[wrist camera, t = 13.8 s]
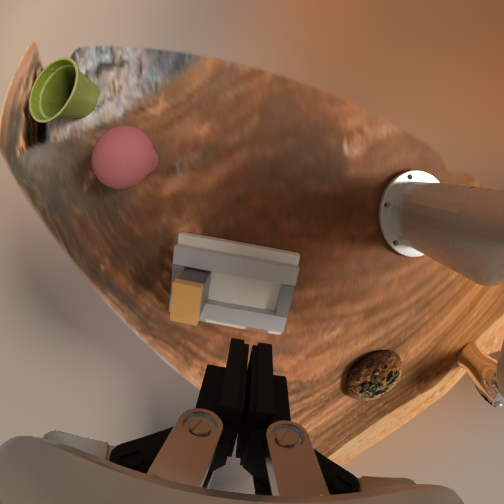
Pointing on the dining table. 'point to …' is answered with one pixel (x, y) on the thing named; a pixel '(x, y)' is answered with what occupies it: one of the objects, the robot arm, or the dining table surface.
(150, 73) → the dining table surface
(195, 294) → the breaker handle
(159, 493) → the robot arm
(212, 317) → the switch panel
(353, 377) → the bread roll
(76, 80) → the plant pot
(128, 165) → the light bulb
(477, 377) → the beer glass
